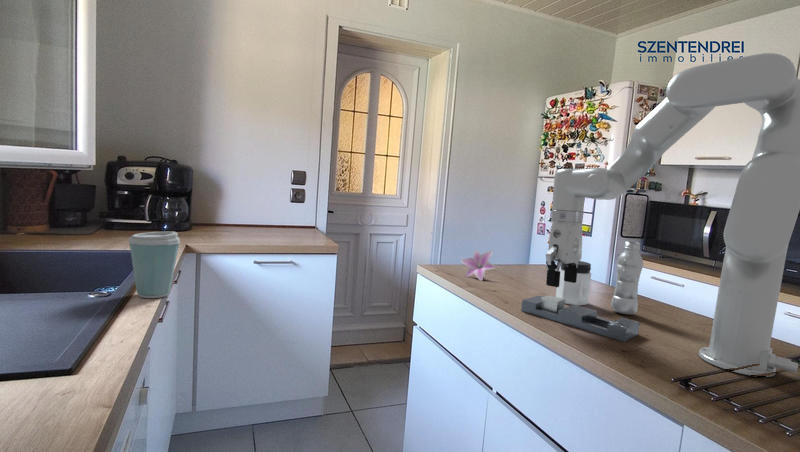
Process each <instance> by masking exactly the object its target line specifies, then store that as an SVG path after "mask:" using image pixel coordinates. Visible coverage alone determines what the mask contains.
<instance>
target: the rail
mask: <svg viewBox="0 0 800 452" xmlns="http://www.w3.org/2000/svg"><path fill="white" fill-rule="evenodd" d="M541 297H544V296H543V295H536V296H532V297H528V298H524V299H522V301H521V310H520V311H521V312H524V313H527V314H531V315H534V316H538V317H541V318H544V319H547V320H551V321H553V322H557V323H561V324H563V325H567V326H570V327H574V328H578V329H581V330H583V331H587V332H589V333H594V334H596V335H600V336H604V337H607V338H611V339H614V340H617V341H620V342H624V343H625V342H627V341H630V340H631V339H633V338H635V337H636V336H638V335H639V330H640V321H636V320H633V319H628V318H625V317H620V318H618V319H616V320H614V321H613V320H610V319H606V318H602V317H598V310H595V309H591V308H588V307H583V306H582V305H580V306H577V305H570V306H565V308H563V309H560V310H558V314H556V313H552V312H549V311H545V310H542V309H540V305H541Z"/></svg>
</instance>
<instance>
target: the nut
mask: <svg viewBox="0 0 800 452" xmlns="http://www.w3.org/2000/svg"><path fill="white" fill-rule="evenodd" d="M565 302H566V299H562V298H558V297H556V296H554V295H551V294H550V295H545V296H543V297H541V305H540V309H542V310H545V311H549V312H552V313H556V314H558V310H560V309H563V308H566V304H565Z"/></svg>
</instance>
